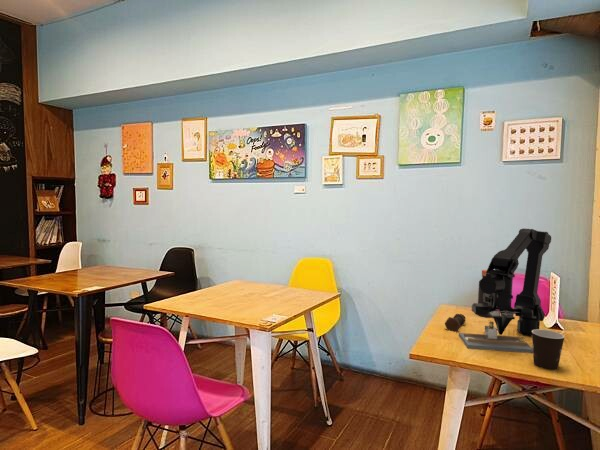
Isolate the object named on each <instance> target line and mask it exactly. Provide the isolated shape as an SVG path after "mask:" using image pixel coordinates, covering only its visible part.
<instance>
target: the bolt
mask: <svg viewBox="0 0 600 450" xmlns="http://www.w3.org/2000/svg"><path fill="white" fill-rule="evenodd" d="M466 320H467V318H466V316H465V315H464V314H461V313H455V314H454V316H452V317H450V316H449V317H448V318H447V319H446V320H445V322H444V325H445V328H446V330H447V331H450V332H458V330H459V329H460V327H461V326H463V325H464V324H465V322H466Z"/></svg>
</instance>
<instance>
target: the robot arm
mask: <svg viewBox="0 0 600 450" xmlns="http://www.w3.org/2000/svg"><path fill="white" fill-rule="evenodd" d="M551 242H552V235H550V234H549V232H548V231H540V230H539V231H538V230H536V229H533V228H525V227H524V228H520V229H519V230H518V234H517V235H516V236H515V237H514V238H513V240H512V241H511V242H510V243H509V245H508V246H507V247H506V248H505V249H502V250H499V251H498V252H497V253H495V255H493V257H492V258H491V260H490V261H489V262H490V263H489V264H488V267H487V269H486V270H487V271H486V277H484V278H483V279H482V278H481V279H482V280H481V279H480V280H481V282H480V288H481V290H482V291H483V292H484V294H483V302H488V305H489V306H493V307H487V306H486V305H485V304H480V303H478V302H473V304H471V311H472V312H473V313H474V314H475V315H478V316H479V315H486V314H487V313H489V315H490V316H491V317H490V318H492V319H493V320H494V321H493V322H494V323H495V327H496V329H497V334H498V335H502V336H503V334H504V332H505V330H506V328H507V327H508V326H509V324H510V322H512V320H515V319H516V317H518V320H517V322H516V323H517V326H516V327H517V328H516V331H517V332H518V333H520V334H521V336H525V337H526V336H527V337H528V336H530V337H532V330H536V329H540V326H541V325H540V322H544V320H545V316H546V315H545V312H544V309H543V308H542V306H541V305H542V300H541V298H540V296H539V294H538V290H539V283H540V282H539V281H540V275H541V270H542V269H541V268H542V261H543V256H544V255H545V253H546V252H547V251H548V250H549V248H550V244H551ZM525 250H526V252H527V259H526V265H525V273H524V280H523V287H522V291H521V292H520V293H516V296H515V302H514V304H513V305H514V307H512V300H513V299H514V295H513V282H514V281H513V280H514V279H513V278H515V277H516V275H515V272H516V270H517V269H518V266H519V264H520V262H519V259H520V256H521V255H522V254H523V253H524V251H525ZM490 294H492V296H490ZM514 315H515V316H516V317H515V316H514Z"/></svg>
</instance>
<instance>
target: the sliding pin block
mask: <svg viewBox="0 0 600 450" xmlns="http://www.w3.org/2000/svg"><path fill="white" fill-rule="evenodd" d="M494 323H495V321H491V320H490V321H488V325H484V333H483V334H484V338H485V339H486V340H497V335H498V330H497V327H496V326H494Z"/></svg>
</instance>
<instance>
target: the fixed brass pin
mask: <svg viewBox="0 0 600 450" xmlns="http://www.w3.org/2000/svg"><path fill="white" fill-rule="evenodd" d="M518 337H519V342H526V338H525V337H522V336H518Z"/></svg>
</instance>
